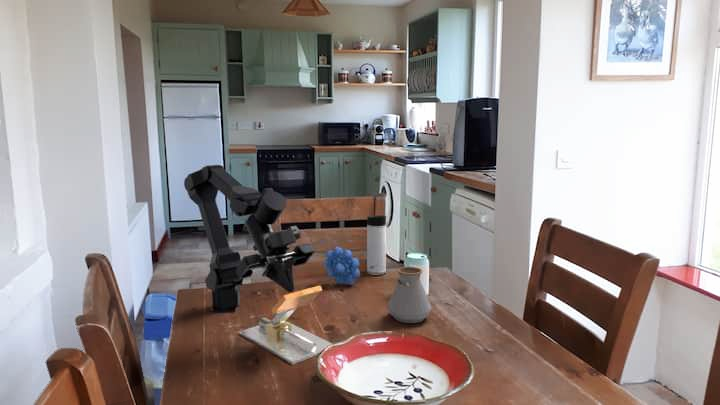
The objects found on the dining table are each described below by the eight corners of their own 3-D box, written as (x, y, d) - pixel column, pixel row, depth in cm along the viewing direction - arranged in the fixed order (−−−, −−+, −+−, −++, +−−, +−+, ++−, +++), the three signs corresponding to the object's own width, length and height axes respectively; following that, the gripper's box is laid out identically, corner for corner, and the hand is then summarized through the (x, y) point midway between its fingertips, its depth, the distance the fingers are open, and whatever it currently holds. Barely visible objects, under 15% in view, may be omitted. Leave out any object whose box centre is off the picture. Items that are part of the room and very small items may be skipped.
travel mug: (373, 277, 172) (373, 217, 169) (363, 272, 178) (363, 213, 175) (389, 274, 175) (390, 215, 172) (379, 269, 181) (380, 212, 178)
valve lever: (257, 324, 123) (283, 294, 114) (292, 313, 130) (319, 284, 120) (260, 330, 123) (286, 301, 113) (295, 319, 129) (322, 290, 120)
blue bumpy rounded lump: (320, 287, 162) (319, 249, 160) (326, 280, 169) (325, 244, 167) (357, 290, 160) (357, 251, 158) (361, 283, 166) (361, 246, 164)
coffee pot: (392, 307, 145) (392, 254, 143) (434, 311, 142) (435, 257, 140) (373, 339, 125) (373, 278, 122) (421, 344, 122) (423, 282, 119)
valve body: (239, 333, 128) (239, 320, 128) (280, 320, 136) (280, 308, 136) (292, 364, 112) (292, 350, 112) (335, 347, 120) (335, 334, 120)
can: (418, 289, 160) (419, 251, 158) (433, 296, 154) (434, 256, 152) (399, 293, 157) (400, 254, 155) (413, 300, 151) (414, 259, 149)
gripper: (241, 221, 115) (270, 282, 109) (309, 210, 127) (339, 264, 121) (224, 249, 122) (251, 308, 116) (291, 236, 134) (318, 289, 128)
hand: (291, 291), depth 120 cm, fingers closed
